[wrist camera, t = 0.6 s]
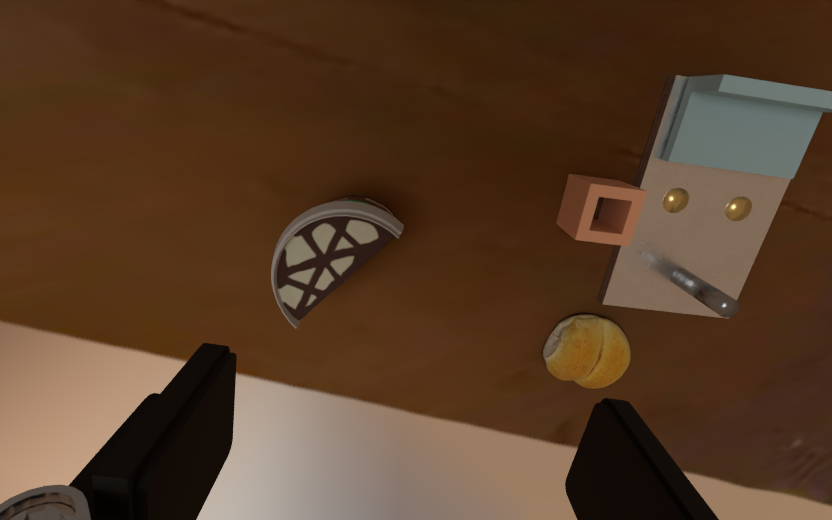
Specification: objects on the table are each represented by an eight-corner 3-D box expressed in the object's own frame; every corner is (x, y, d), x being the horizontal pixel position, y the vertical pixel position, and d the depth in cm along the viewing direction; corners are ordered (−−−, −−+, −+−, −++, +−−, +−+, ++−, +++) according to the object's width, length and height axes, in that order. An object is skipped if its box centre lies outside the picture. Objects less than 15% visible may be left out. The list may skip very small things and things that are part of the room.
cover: (689, 76, 36) (724, 74, 33) (818, 97, 37) (867, 97, 33) (661, 159, 39) (691, 166, 35) (783, 177, 40) (825, 185, 36)
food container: (358, 153, 39) (345, 171, 30) (403, 202, 41) (404, 233, 32) (268, 240, 42) (231, 281, 33) (315, 282, 44) (291, 332, 34)
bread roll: (599, 385, 50) (615, 409, 46) (531, 362, 48) (542, 384, 45) (638, 327, 47) (658, 347, 43) (567, 301, 46) (582, 319, 42)
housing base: (668, 75, 38) (735, 70, 30) (814, 98, 39) (915, 99, 31) (597, 299, 45) (637, 340, 38) (720, 313, 47) (783, 355, 39)
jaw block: (569, 173, 41) (590, 183, 36) (619, 180, 41) (647, 191, 36) (556, 224, 42) (575, 239, 38) (604, 230, 43) (629, 246, 38)
